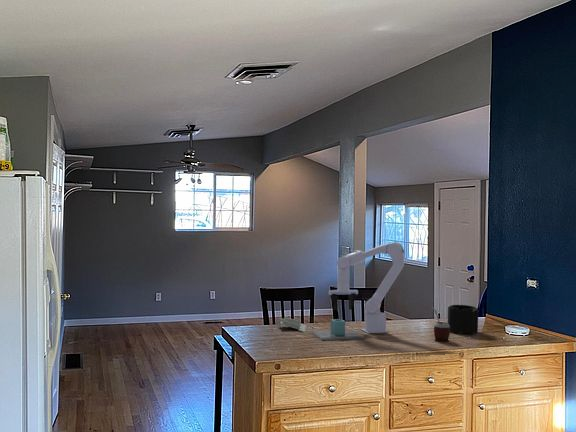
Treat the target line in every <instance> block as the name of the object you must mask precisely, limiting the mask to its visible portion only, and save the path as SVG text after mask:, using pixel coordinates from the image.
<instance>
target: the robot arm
mask: <svg viewBox="0 0 576 432" xmlns="http://www.w3.org/2000/svg"><path fill="white" fill-rule="evenodd" d="M379 254H383V255H389V257H390V258H391V259H390V260H391V262H392V266H391V268H390V269H389V270H388V272H387V274H386V275H385V276H384V278H383V280H382V281H381V283H380V285H379V286H378V288H377V289H376V291H375V293H374V294H373V295H372V297H371V298H369V299H368V300H367V301H365V304H364V309H365V313H364V328H361V330H362V331H363V332H365V333H367V334H382V333H387V326H386V325H387V317H386V313H385V312H381V310H380V308H381V307H382V306H381V305H382V301H383V299H384V298H385V296H386V295H387V293H388V292H389V290H390V289H391V287H392V285H393V284H394V282H395V281H396V279H397V278H398V276H399V274H400V273H401V271H402V270H403V268H404V267H405V249H404V248H403V245H402V243H400V242H397V241H395V242H390V243H386V244H381V245H378V246H376V247H374V248H371V249H368V250H366V251H362V250H358V249H356V250H354V252H352V253H346V254H345V255H343V256H340V257H339V258H338V259H337V261H336V265H337V267H338V268H337V289H331V290H328V292H327V293H328V295H329V297H330V300H331V303H332V304H333V305H332V306H333V310H334V311H337V310H338V300H339V299H338V298H339V296H338V295H340V296H341V295H348V310H350V311H351V310H353V306H354V303H355V301H356V299H357V297H358V295H359V290H358V289H350V281H351V280H350V275H351V274H350V273H351V272H350V270H351V269H350V266H351V267H353V266H356V265H359V264H361V263H364V262H365V261H366V259H367V258H370V257H373V256H376V255H379Z"/></svg>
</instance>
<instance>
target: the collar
mask: <svg viewBox="0 0 576 432" xmlns="http://www.w3.org/2000/svg"><path fill="white" fill-rule="evenodd" d="M330 330H331V333H332V334H334V335H344V334H345V330H346V320H343V319H342V318H337V319H336V318H335V319H330Z"/></svg>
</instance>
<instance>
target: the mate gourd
mask: <svg viewBox="0 0 576 432" xmlns="http://www.w3.org/2000/svg"><path fill="white" fill-rule="evenodd" d="M430 308H431V309H432V310H433V311H434V312H435V315H436V318H437V322H435V324H434V326H433V335H434V342H442V343H443V344H444V343H446V342H449V338H450V334H451V332H450V326H449V324H448V322H445V321H440V318H439V315H438V312H437V310H436V309H435V308H434V307H433V306H432V305H430Z"/></svg>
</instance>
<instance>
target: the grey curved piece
mask: <svg viewBox="0 0 576 432" xmlns="http://www.w3.org/2000/svg"><path fill="white" fill-rule="evenodd" d="M281 325H285V326H287V327H290V328H293V329H296V330H298V332H299V331H300V332H302V333H305V332H306V330H307V329H306V328H307V325H306V324H303V323H302V322H301V321H300V320H297V319H293V318H289V317H287V316H284V317H283V318H281V317H280V318H279V323H278V324H277V327H278V329H280V328H281Z"/></svg>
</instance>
